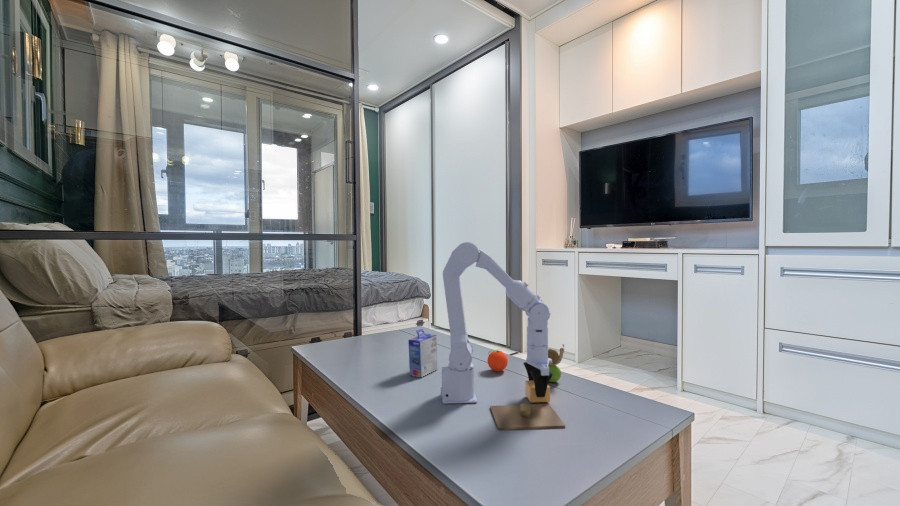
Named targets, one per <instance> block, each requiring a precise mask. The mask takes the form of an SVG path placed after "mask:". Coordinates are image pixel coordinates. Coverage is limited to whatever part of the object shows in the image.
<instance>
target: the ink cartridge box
mask: <svg viewBox="0 0 900 506" xmlns="http://www.w3.org/2000/svg"><path fill="white" fill-rule="evenodd" d="M415 332H416V335H417V336H415V337H412V338H410V339H408V342H407V343H408V359H409V360H408V362H409V363H408V365H409V375H410V376H411V375H412V376H413V377H415V376H416V378H419V377H422V378H424V377H426V376H428V375H429V373H430V374H432V373H434V372H435V370H436V371H438V368H439V365H438V339H437V338H438V337H437V334H433V333H432V334H431V333H425V331H424V329H423V328H420V329H418V330H417V329H416V330H415ZM420 332H422V333H420ZM433 371H434V372H433ZM431 372H432V373H431ZM427 374H428V375H427ZM425 375H426V376H425ZM423 376H424V377H423Z"/></svg>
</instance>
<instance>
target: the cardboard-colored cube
mask: <svg viewBox="0 0 900 506" xmlns="http://www.w3.org/2000/svg"><path fill="white" fill-rule="evenodd" d="M524 385H525V386H524V388H525V390H524V391H525V392H524V393H525V394H524V395H525V396H526V398H527V399H528V401H529V402H530V403H550V402H551V386H550V385H549V384H548V386H547V390H546V394H545V397H537V396H536V392H535V384H534V380H530V381H529V380H525V383H524Z"/></svg>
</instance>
